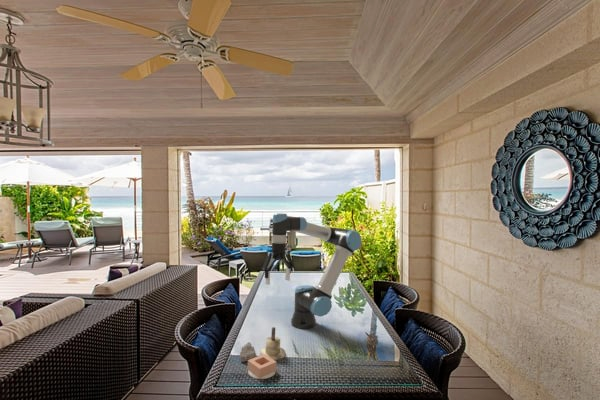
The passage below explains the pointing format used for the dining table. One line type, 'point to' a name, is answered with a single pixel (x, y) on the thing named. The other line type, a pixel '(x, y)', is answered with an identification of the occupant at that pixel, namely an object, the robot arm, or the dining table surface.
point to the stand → (273, 347)
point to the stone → (247, 352)
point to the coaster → (261, 377)
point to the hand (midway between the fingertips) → (277, 282)
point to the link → (261, 365)
